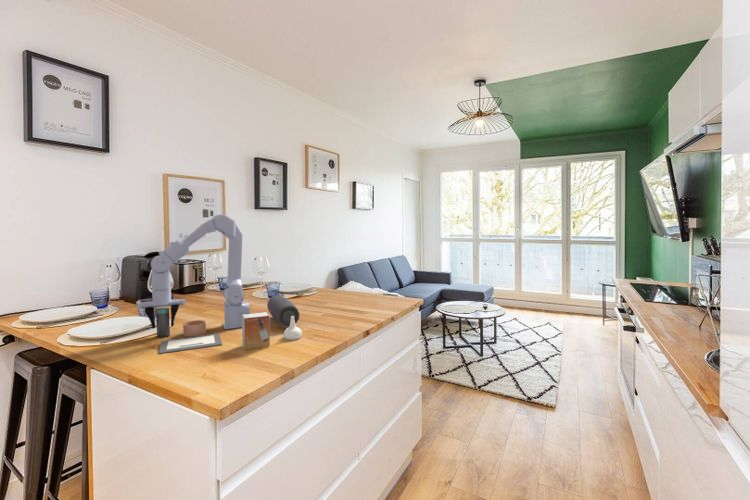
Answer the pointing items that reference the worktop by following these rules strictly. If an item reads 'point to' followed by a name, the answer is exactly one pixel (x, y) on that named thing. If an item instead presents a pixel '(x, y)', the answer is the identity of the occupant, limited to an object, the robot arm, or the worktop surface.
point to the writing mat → (190, 343)
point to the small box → (255, 330)
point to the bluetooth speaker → (282, 310)
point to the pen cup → (194, 328)
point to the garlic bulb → (292, 331)
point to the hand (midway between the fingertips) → (163, 326)
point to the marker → (162, 322)
